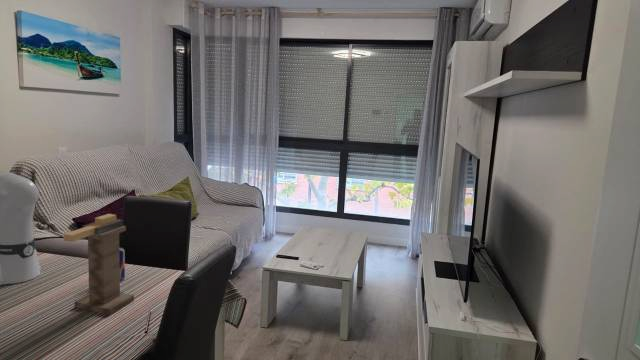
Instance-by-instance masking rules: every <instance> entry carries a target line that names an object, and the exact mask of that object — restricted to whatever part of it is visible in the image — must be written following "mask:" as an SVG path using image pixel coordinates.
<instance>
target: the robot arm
mask: <svg viewBox="0 0 640 360" xmlns="http://www.w3.org/2000/svg"><path fill="white" fill-rule="evenodd" d="M39 197H40V191H39V188H38V187H37V185H36V184H35V183H34V182H33V181H32V180H31V179H30V178H26V177H24V176H22V175H18V174H17V173H14V172H10V171H5V172H4V171H3V172H0V286H3V285H12V284H20V283H24V282H29V281H31V280H34V279H36V278H38V277H39V276H40V274H41V269H42V267H41V265H40V264H39V258H38V251H37V249H36V244H37V243H36V239H35V237H34V213H35V207H36V204H37V201H38V200H39Z"/></svg>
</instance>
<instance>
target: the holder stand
mask: <svg viewBox="0 0 640 360" xmlns="http://www.w3.org/2000/svg"><path fill="white" fill-rule="evenodd" d="M93 224H95V221H94V222H91V223H87V224H85V225H82V228H84V227H87V226H90V225H93ZM126 231H127V227H126V225H124V219H117V218H116V221H115V222H112V223H109V224H106V225H103V226H100V227H97V228H95V234H93V235H91V236H88V237H87V252H88V253H87V254H88V255H87V257H88V259H87V260H88V263H87V264H88V294H86V295H85V296H83V297H81V298H79V299H77V300H76V301H74V308H76V309H79V310H80V309H81V310H84V311H89V312H93V313H94V312H95V313H99V314H103V315H106V316H107V315H108V316H112V315H113V314H115V313H116V312H118V311H120V310H122V309H123V308H124V307H126V306H128V305H129V304H131V303H132V302H134V301H135V295H134V294H129V293H124V292H121V290H120V289H121V285H120V284H121V283H120V282H121V281H120V261H119V248H120V233H123V232H126Z"/></svg>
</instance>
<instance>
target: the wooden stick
mask: <svg viewBox="0 0 640 360" xmlns="http://www.w3.org/2000/svg"><path fill="white" fill-rule="evenodd" d="M116 219H117V214H114V213H113V214H112V213H107V214H104V215H100V216H97V217H94V222H95V224H93V225H90V226H87V227H84V228H83V227H81V228H78V229H75V230H72V231H68V232H66V233H63V241H65V242H71V243H73V242H76V241H78V240H81V239H85V238H88V236H91V235H93V234H95V228H97V227H100V226H103V225H106V224H109V223H112V222H115V221H116Z"/></svg>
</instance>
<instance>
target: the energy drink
mask: <svg viewBox="0 0 640 360" xmlns="http://www.w3.org/2000/svg"><path fill="white" fill-rule="evenodd" d="M125 257H126V256H125V249H124V248H123V247H119V261H120V282H123V281H124V280H125V278H126V276H125V275H126V272H125V271H126V267H125V264H126V262H125V261H126V260H125V259H126V258H125Z"/></svg>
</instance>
